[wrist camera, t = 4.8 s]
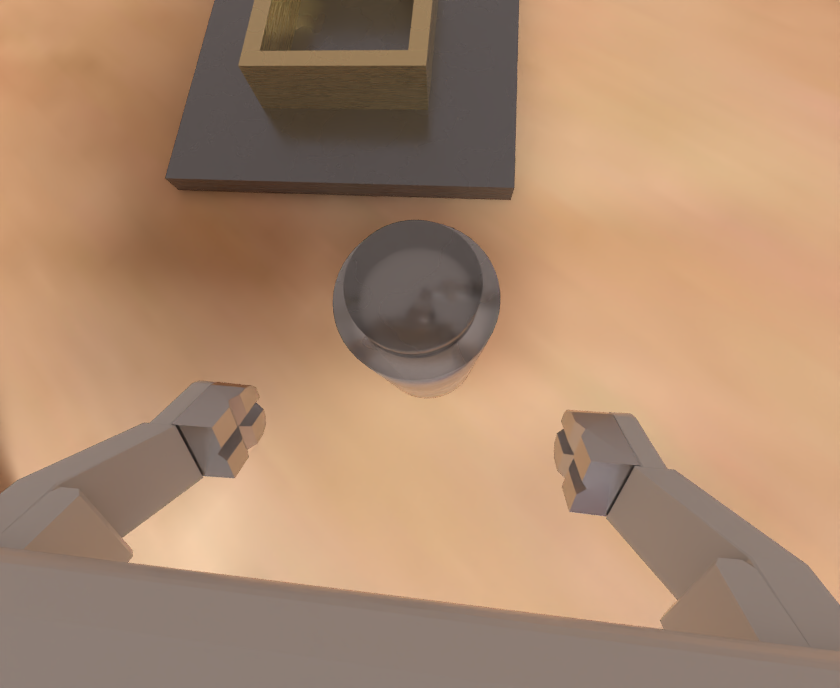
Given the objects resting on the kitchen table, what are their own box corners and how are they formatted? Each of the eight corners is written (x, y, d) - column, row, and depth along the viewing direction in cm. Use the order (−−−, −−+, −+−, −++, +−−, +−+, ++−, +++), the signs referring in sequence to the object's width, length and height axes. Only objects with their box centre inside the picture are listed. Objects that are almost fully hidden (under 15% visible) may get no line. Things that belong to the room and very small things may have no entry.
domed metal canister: (476, 309, 18) (509, 202, 9) (472, 402, 17) (504, 382, 8) (386, 304, 18) (334, 197, 9) (376, 394, 17) (307, 368, 8)
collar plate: (517, -57, 23) (530, -138, 20) (510, 199, 19) (525, 151, 16) (241, -49, 25) (209, -123, 21) (178, 189, 21) (125, 143, 17)
